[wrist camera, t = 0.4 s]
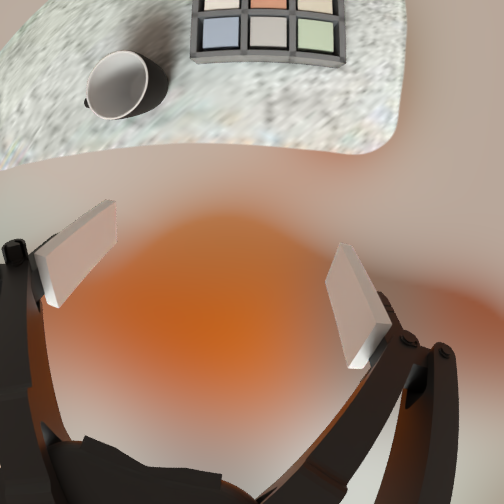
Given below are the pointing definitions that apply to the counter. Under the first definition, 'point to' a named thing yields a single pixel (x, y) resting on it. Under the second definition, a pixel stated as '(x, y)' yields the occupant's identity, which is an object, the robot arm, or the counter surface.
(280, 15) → the gray compartment tray
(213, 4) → the key
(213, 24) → the key
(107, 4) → the counter surface
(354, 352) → the robot arm
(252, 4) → the orange square block
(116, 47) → the counter surface
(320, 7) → the key
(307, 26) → the key
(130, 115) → the mug
